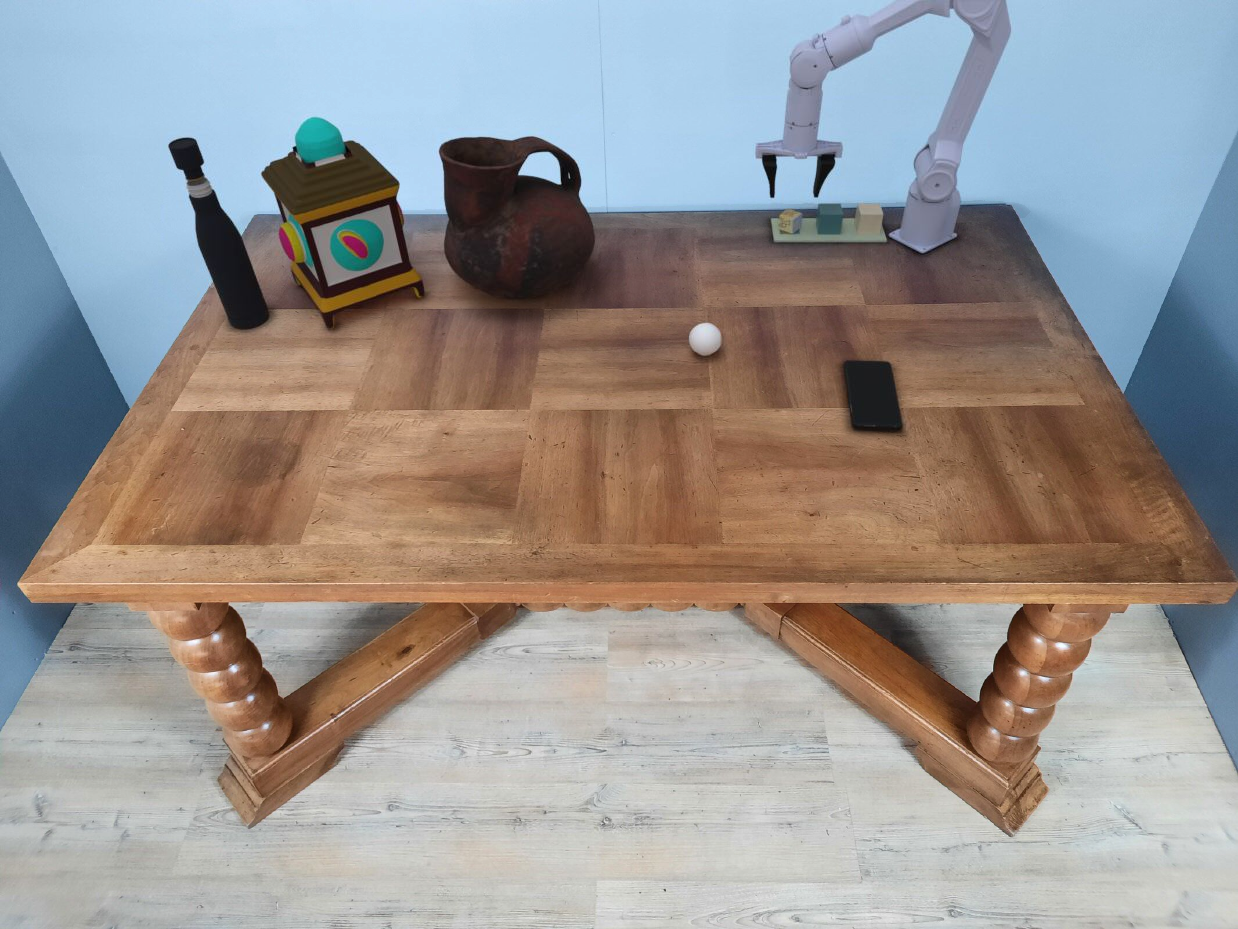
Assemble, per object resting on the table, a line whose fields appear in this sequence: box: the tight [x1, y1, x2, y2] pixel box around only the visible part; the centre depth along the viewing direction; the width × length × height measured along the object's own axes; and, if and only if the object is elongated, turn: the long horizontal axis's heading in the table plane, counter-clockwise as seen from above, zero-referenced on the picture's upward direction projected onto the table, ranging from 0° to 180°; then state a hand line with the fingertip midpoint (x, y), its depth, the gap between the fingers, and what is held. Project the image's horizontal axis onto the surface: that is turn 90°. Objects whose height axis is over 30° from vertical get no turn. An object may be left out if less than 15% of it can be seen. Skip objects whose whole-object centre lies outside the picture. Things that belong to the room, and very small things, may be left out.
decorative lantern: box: [260, 116, 425, 330], centre depth 140 cm, size 20×20×30 cm
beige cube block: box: [854, 203, 884, 234], centre depth 159 cm, size 4×4×4 cm
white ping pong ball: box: [688, 322, 722, 357], centre depth 134 cm, size 5×5×5 cm
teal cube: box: [815, 203, 845, 235], centre depth 159 cm, size 4×4×4 cm
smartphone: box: [843, 359, 904, 432], centre depth 126 cm, size 7×1×15 cm
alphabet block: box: [778, 208, 803, 234], centre depth 160 cm, size 3×3×3 cm
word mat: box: [770, 217, 888, 243], centre depth 160 cm, size 20×8×1 cm, turn 87°
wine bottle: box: [168, 136, 270, 330], centre depth 136 cm, size 6×6×30 cm
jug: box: [438, 135, 596, 300], centre depth 143 cm, size 25×25×25 cm
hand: (793, 195), depth 156 cm, fingers open, 7 cm apart
